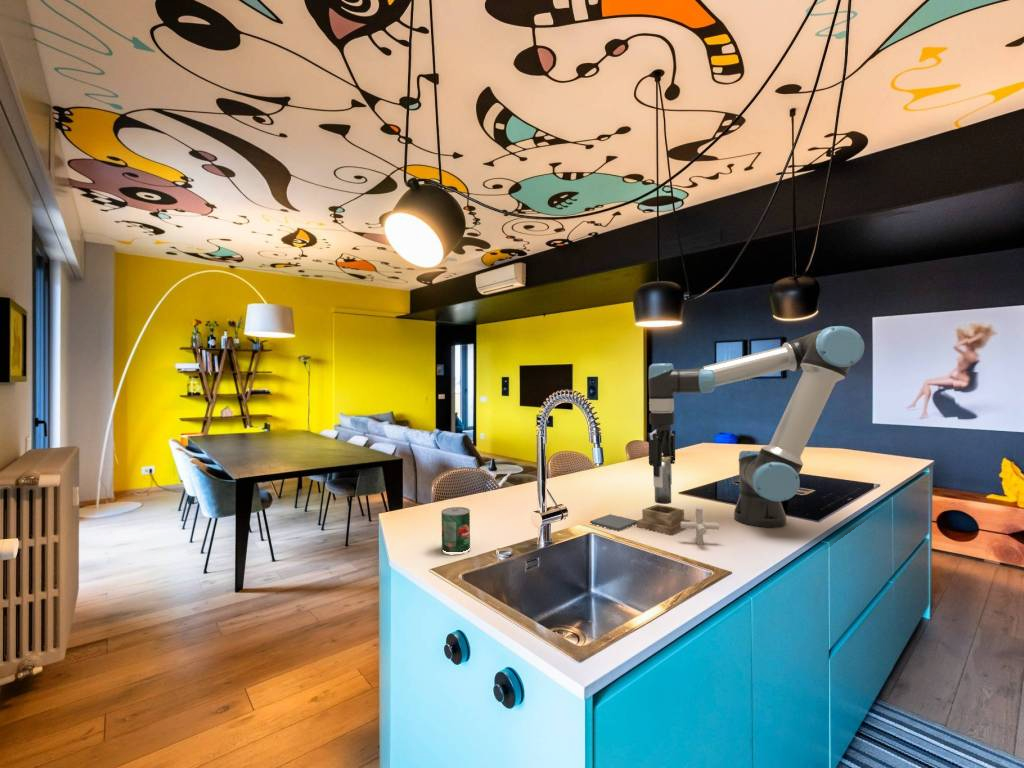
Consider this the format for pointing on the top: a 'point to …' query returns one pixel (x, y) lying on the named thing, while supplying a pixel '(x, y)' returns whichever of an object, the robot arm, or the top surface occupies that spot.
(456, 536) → the canned tomato
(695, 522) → the pipe connector
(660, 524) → the block
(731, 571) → the top surface
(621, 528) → the pad
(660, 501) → the peg
